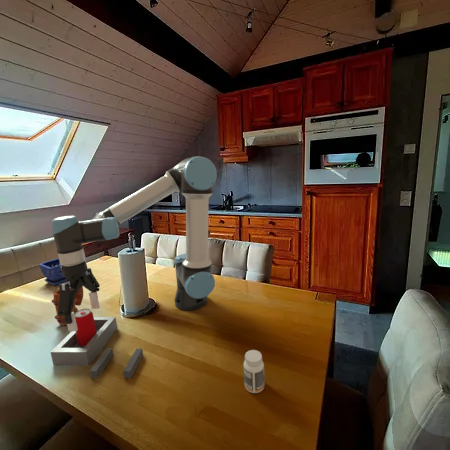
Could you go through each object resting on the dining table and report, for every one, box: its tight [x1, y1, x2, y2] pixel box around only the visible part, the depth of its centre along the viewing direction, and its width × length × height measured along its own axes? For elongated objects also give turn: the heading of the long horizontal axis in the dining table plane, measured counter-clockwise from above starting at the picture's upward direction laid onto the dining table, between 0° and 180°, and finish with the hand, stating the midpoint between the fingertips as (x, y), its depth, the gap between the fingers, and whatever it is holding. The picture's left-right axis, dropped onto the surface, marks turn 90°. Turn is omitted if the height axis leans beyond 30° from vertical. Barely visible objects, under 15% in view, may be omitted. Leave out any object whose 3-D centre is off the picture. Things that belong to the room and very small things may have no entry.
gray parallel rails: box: [89, 347, 144, 379], centre depth 84 cm, size 12×10×2 cm
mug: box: [50, 286, 84, 326], centre depth 111 cm, size 15×8×15 cm, turn 168°
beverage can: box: [74, 308, 96, 347], centre depth 93 cm, size 6×6×12 cm
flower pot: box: [39, 257, 66, 287], centre depth 151 cm, size 13×13×12 cm
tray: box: [50, 316, 118, 367], centre depth 94 cm, size 12×20×5 cm, turn 176°
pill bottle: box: [242, 349, 265, 394], centre depth 73 cm, size 6×6×10 cm
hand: (85, 318), depth 93 cm, fingers open, 13 cm apart
